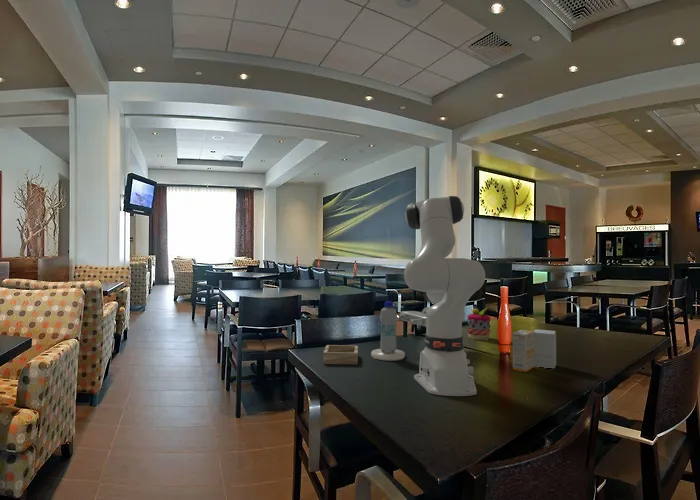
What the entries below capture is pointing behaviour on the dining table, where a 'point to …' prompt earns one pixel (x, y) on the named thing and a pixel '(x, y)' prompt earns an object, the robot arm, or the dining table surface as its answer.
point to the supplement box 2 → (545, 348)
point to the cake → (478, 325)
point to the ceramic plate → (387, 355)
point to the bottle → (388, 328)
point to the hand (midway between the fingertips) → (404, 320)
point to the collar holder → (340, 354)
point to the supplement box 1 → (523, 350)
